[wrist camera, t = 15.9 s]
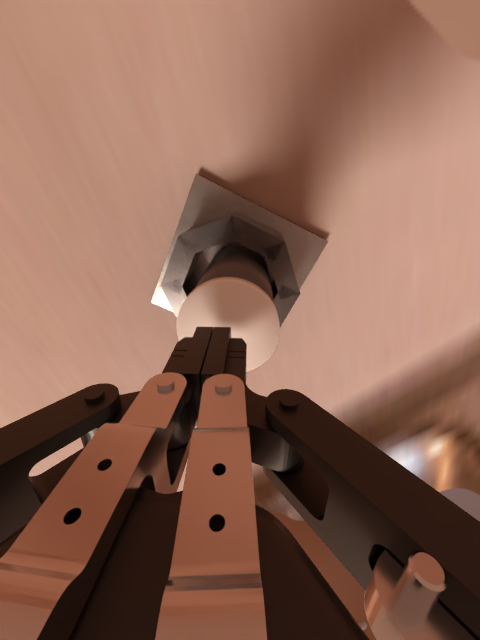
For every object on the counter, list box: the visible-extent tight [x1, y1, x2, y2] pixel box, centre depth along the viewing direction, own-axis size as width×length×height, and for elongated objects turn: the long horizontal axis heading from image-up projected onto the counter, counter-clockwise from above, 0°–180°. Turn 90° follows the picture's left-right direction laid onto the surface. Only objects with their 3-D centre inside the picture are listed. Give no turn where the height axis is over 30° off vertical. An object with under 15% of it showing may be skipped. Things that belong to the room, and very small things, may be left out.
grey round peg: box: [176, 245, 280, 372], centre depth 18 cm, size 5×5×10 cm
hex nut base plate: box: [151, 174, 328, 327], centre depth 21 cm, size 11×11×4 cm
